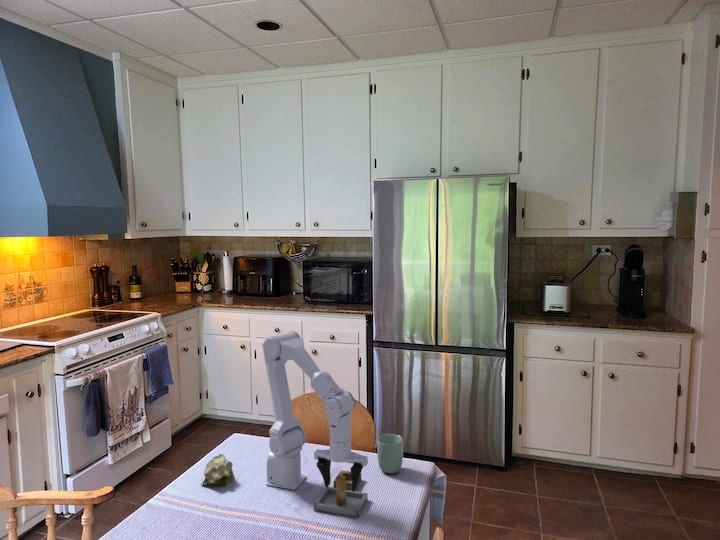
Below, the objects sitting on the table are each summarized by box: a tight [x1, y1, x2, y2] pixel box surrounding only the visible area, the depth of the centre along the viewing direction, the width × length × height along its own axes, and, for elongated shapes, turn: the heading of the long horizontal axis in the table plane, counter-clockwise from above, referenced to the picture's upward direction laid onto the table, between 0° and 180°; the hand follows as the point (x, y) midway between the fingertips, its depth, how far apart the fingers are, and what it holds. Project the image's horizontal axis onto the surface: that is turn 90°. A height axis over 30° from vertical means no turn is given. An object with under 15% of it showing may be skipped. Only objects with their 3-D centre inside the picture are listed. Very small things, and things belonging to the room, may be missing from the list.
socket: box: [332, 469, 362, 491], centre depth 140 cm, size 6×6×2 cm
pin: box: [335, 475, 346, 506], centre depth 129 cm, size 3×3×7 cm
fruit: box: [200, 453, 235, 486], centre depth 142 cm, size 9×9×8 cm
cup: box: [376, 433, 404, 475], centre depth 147 cm, size 8×8×10 cm
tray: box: [313, 486, 368, 519], centre depth 129 cm, size 12×9×2 cm
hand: (341, 487), depth 128 cm, fingers open, 7 cm apart
